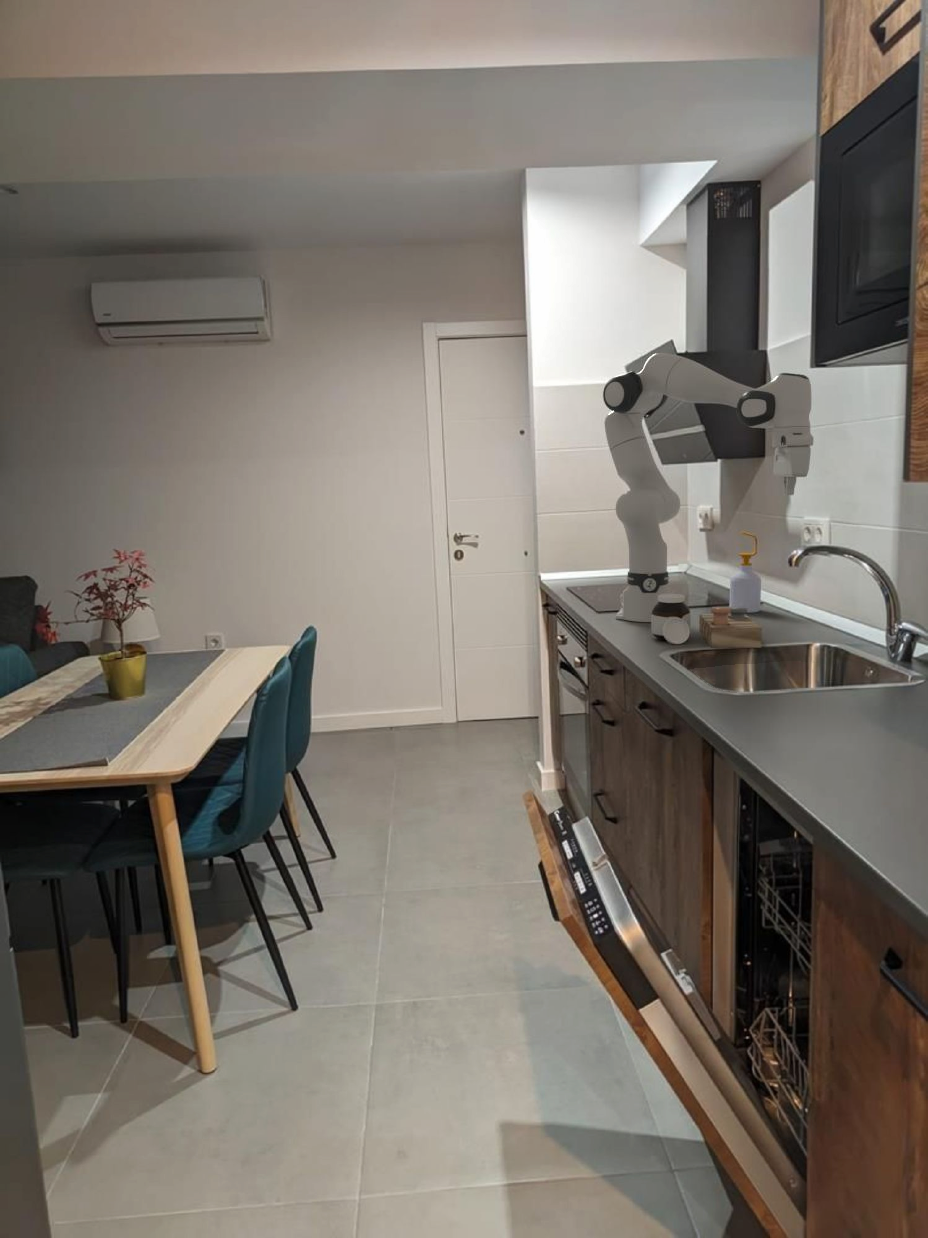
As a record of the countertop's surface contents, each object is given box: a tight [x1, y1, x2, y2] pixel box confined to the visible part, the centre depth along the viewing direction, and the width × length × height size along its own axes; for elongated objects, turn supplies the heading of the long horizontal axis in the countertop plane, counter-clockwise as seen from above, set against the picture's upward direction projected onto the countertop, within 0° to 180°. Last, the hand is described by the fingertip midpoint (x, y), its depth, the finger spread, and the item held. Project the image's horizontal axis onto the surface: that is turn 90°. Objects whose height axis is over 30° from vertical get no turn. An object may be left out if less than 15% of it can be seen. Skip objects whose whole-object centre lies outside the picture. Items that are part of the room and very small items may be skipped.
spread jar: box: [650, 593, 691, 645], centre depth 221 cm, size 12×11×12 cm
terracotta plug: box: [710, 606, 731, 626], centre depth 216 cm, size 5×5×7 cm
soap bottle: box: [728, 531, 762, 614], centre depth 261 cm, size 9×9×25 cm
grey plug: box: [728, 606, 747, 619], centre depth 225 cm, size 5×5×7 cm
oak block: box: [698, 613, 763, 649], centre depth 221 cm, size 20×12×5 cm, turn 173°
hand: (788, 495), depth 214 cm, fingers closed
